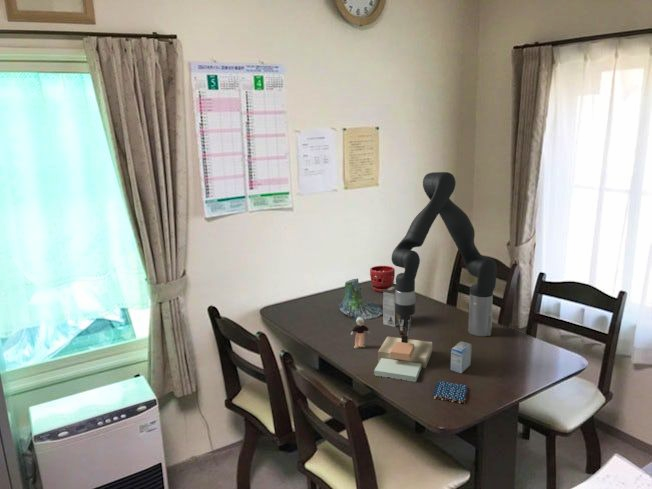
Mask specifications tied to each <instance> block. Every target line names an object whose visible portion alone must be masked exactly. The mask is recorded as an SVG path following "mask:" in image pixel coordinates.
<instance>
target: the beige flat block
mask: <svg viewBox="0 0 652 489" xmlns="http://www.w3.org/2000/svg"><path fill="white" fill-rule="evenodd" d="M401 339H402V337H396V336H386V338H385V340H384V341H383V343H382V344H381V346H380V348H379V349H378V351H377V354H378V355H377V362H379V361H380V359H381V358H385V359H392V360H399V361H406V362H413V363H420V364H421V369H422V368H424V369H426V368H427V365H428V363H429V360H430V358H431V356H432V352H433V342H432V341H426V340H425V341H424V340H419V339H410V338H408V343H411V344H414V352H413V354H412V356H411V358H410V361H408V360H401V359H394V358H390V352H391V350H392V348H393V346H394V344H395V343H396V342H401Z"/></svg>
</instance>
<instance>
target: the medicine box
mask: <svg viewBox="0 0 652 489" xmlns="http://www.w3.org/2000/svg"><path fill="white" fill-rule="evenodd" d="M471 361H472V344H471V343H469V342H466V341H465V342H464V341H459V342H458V343H456V344H455V346H453V347H452V348H451V350H450V370H451V371H453V372H456V373H457V374H458V373H459V374H462V373H463V372H465V371H466V369H468V368H469V367H470V366H471V364H472V363H471Z"/></svg>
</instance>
